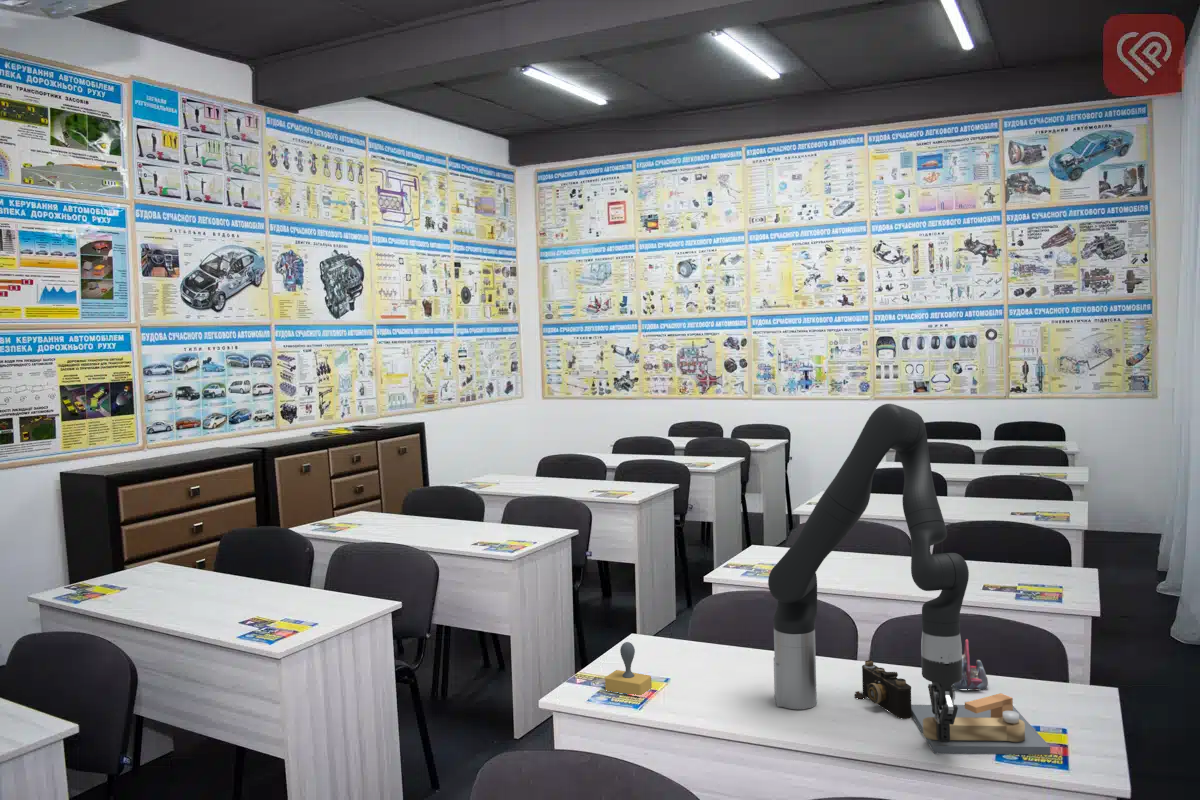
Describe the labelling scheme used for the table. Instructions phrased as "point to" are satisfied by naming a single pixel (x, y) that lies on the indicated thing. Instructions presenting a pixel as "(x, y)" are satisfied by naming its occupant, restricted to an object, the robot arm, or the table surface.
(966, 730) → the latch lever
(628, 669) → the rubber stamp
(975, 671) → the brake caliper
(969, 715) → the base plate
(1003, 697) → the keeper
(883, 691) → the camera
